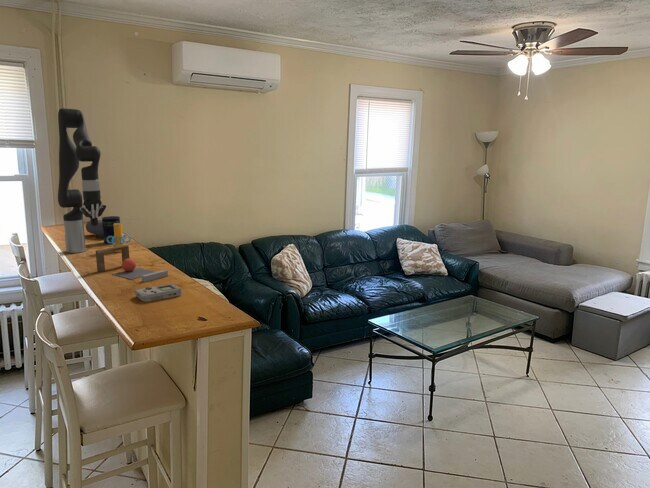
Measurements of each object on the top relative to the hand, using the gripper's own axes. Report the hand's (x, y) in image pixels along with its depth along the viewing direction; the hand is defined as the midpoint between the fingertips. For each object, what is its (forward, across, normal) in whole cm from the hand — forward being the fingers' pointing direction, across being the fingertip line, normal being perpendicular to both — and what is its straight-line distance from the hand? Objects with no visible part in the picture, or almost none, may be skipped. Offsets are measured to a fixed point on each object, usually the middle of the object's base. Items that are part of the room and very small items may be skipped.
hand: (94, 225), depth 236 cm
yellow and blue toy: (+19, -24, -18) cm, 36 cm away
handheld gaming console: (+20, +15, +65) cm, 69 cm away
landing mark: (+19, 0, +29) cm, 35 cm away
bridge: (+19, 0, +13) cm, 23 cm away
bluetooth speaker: (+19, -43, -62) cm, 78 cm away
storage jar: (+19, -35, -41) cm, 57 cm away
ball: (+16, -1, +24) cm, 28 cm away
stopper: (+19, 0, +43) cm, 47 cm away
